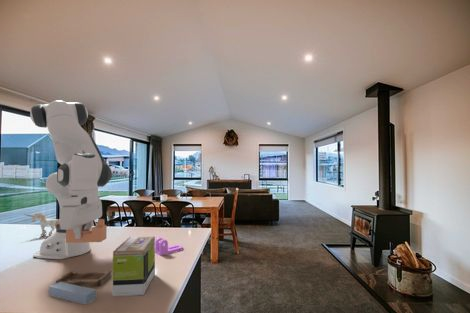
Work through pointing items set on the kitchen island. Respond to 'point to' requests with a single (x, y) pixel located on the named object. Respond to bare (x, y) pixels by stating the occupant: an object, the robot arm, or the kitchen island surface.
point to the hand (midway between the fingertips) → (83, 235)
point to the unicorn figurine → (45, 222)
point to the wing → (72, 292)
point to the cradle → (98, 282)
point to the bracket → (165, 247)
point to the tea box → (133, 266)
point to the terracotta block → (89, 234)
